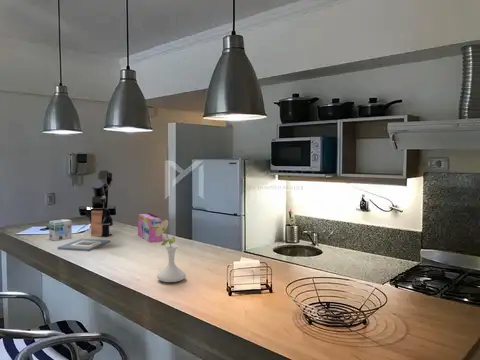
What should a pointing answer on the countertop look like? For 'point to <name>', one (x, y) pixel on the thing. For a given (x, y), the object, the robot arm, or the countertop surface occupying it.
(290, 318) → the countertop surface
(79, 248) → the board
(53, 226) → the light bulb box
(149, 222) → the gum box
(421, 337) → the countertop surface
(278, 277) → the countertop surface
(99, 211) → the terracotta block
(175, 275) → the flower in vase
